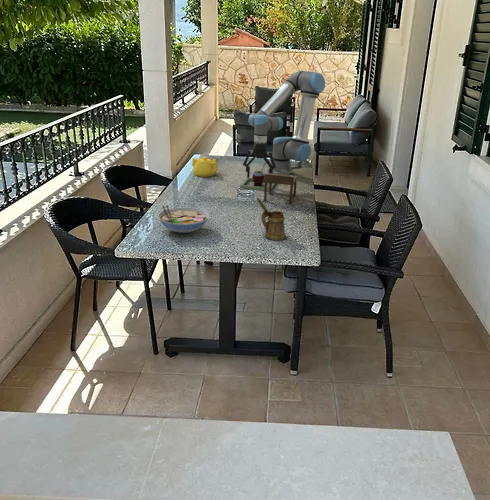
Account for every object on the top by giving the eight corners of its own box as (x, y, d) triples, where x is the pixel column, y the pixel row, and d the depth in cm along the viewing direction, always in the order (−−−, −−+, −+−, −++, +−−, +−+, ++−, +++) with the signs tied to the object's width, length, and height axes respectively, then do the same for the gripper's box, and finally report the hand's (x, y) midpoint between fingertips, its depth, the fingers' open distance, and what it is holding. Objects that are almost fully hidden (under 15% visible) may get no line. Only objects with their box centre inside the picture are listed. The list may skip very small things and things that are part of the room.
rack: (268, 193, 289) (270, 167, 283) (296, 196, 286) (298, 170, 280) (263, 201, 274) (264, 174, 268) (292, 204, 271) (293, 177, 266)
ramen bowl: (213, 239, 220) (213, 221, 217) (160, 242, 214) (159, 224, 211) (204, 219, 242) (204, 203, 239) (155, 222, 236) (154, 205, 233)
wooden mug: (254, 232, 230) (256, 194, 223) (284, 233, 231) (286, 195, 224) (255, 240, 222) (257, 200, 215) (286, 240, 223) (288, 201, 216)
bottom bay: (247, 180, 312) (247, 177, 312) (276, 182, 309) (276, 180, 309) (240, 187, 296) (240, 185, 295) (270, 190, 293) (270, 188, 292)
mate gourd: (249, 184, 302) (250, 160, 296) (258, 182, 308) (259, 158, 302) (258, 187, 298) (259, 162, 292) (267, 185, 303) (268, 160, 297)
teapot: (228, 173, 324) (228, 156, 319) (210, 179, 309) (210, 161, 305) (203, 168, 333) (203, 151, 329) (185, 173, 319) (184, 156, 315)
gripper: (238, 141, 291) (237, 178, 300) (280, 145, 287) (277, 182, 296) (241, 139, 298) (240, 175, 306) (282, 143, 294) (280, 179, 302)
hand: (258, 178), depth 301 cm, fingers open, 12 cm apart
